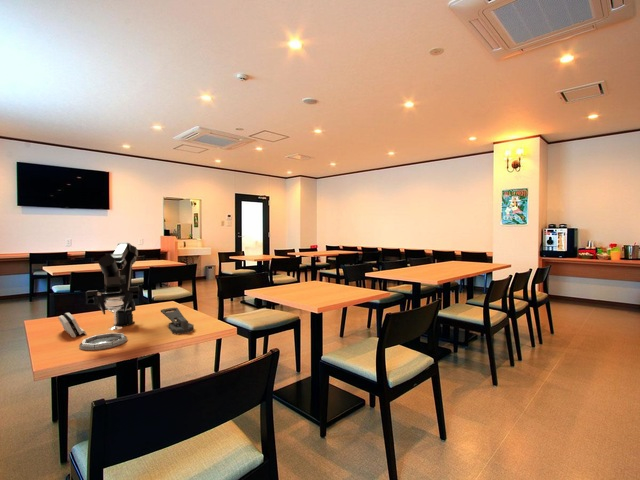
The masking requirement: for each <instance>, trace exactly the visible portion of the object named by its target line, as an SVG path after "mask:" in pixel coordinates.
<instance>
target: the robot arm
mask: <svg viewBox="0 0 640 480" xmlns="http://www.w3.org/2000/svg"><path fill="white" fill-rule="evenodd" d="M138 256H139V250H138V249H137V247H136V246H134V245H132V244H131V243H129V242H119V243H117V247H116V248H115V251H114V252H113V253H105V255H104V256H101V257H100V258H99V259H98V261H97V262H98V265H99V267H100V270H101V272H102V274H103V276H104V292H99V291H98V290H97V289H96V290H87V291H86V292H85V304H86V305H94V306H97V307H98V308H99V310H101V312H102V314H103V315H106V308H105V306H104V303H105V302H104V299H106V298H110V297H124V298H123V301H124V305H123V307H122V308H121V309H120V310H118V311H117V312H116V326H120V327H126V326H129V325H131V324H134V323H136V321H134V319H133V318H134V315H133V312H135V311H136V310H137V309H136V304H135V301H134V300H138V299H140V294H141V292H140V291H141V290H140V286H131V279H132V267H133V265H134V264H135V263H136V261H137V257H138Z"/></svg>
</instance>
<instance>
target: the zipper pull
mask: <svg viewBox="0 0 640 480" xmlns="http://www.w3.org/2000/svg"><path fill="white" fill-rule="evenodd" d="M160 313H162V314H163V315H164V316H165V317H167V319H168V320H170V321H171V322H169V323H168V330H170V332H171V334H174V335H182V334H183V335H184V334H188V333H189V334H190V333H192V332H193V331H194V326H195V325H194V324H192V323H190V322H189V320H187V319H186V317H184V315H183V314H182V313H181V311H180V309H179V308H178V307H169V308H163V309H160Z"/></svg>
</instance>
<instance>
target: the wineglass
mask: <svg viewBox="0 0 640 480" xmlns="http://www.w3.org/2000/svg"><path fill="white" fill-rule="evenodd" d="M123 298H124V297H110V298H103V301H105V302H104V307H105V310H107V311H109V312H112V313H113V326H112V327H108V329H107V330H108V331H117V330H121V329H123V326H116V312H117V311H118V310H120V309H121V308H122V307H123V305H124V301H123Z"/></svg>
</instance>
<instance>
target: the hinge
mask: <svg viewBox="0 0 640 480" xmlns="http://www.w3.org/2000/svg"><path fill="white" fill-rule="evenodd" d="M58 320H59V322H60V324H61V325H62V328H63V330H64V331H65V332H66V334H68V335H69V334H70V335H69V336H71V338H77V336H78V335H82V334H84V335H85V336H87V335H88V334H87V332H86V331H85V330H84V329H83V328H81V327H80V326H79V324H78V322H77V320H76V318H75V316H73V315H72V314H71V313H70V312H65V313H64V314H63V315H62V314H61V315H59V316H58Z"/></svg>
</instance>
